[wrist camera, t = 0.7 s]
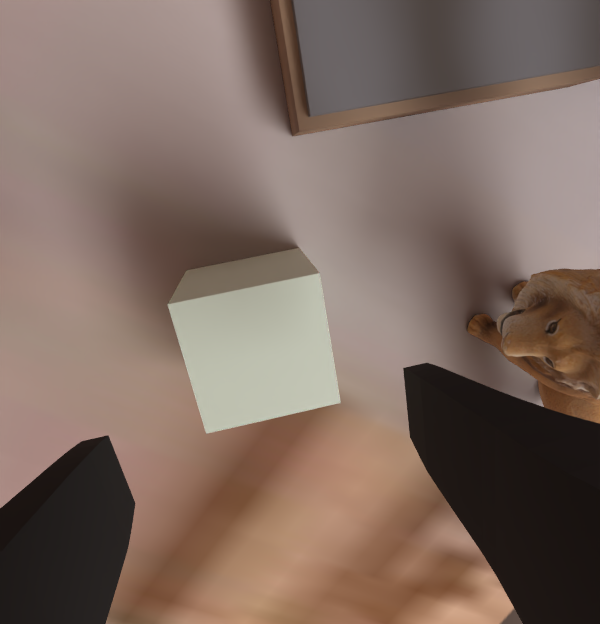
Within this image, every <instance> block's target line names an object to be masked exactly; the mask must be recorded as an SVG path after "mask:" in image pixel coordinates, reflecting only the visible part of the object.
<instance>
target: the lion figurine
mask: <svg viewBox="0 0 600 624" xmlns="http://www.w3.org/2000/svg"><path fill="white" fill-rule="evenodd" d="M512 296H513V300H514V302H515V305H514V308H513V310H512V312H509V313H504V314H502V315H501V316H499V318H498V320H497V322H494V321H493V320H492V319H491V318H490V317H489V316H488V315H486V314H479V315H475V316H474V317H473V318H472V319H471V321H470V322H469V326H468V328H467V331H468V333H470V334H472V335H473V336H476V337H478V338H479V339H481V340H483V341H484V342H486V343H489V344H491V345H493V346H495V347H496V348H497V349H498V350H500V352H501V353H502V354H503V355H504V356H505V357H506V358H507V359H508V360H509V361H511V362H512V363H514V364H515V365H517V366H518V367H520V368H521V369H523V370H524V371H526V372H528V373H529V374H530V375H532V376H533V377H534V378H536V379H537V380H538V386H539V392H540V396H541V399H542V402H543V405H544V407H545V408H548V409H551V410H554V411H557V412H560V413H563V414H567V415H570V416H574V417H577V418H581V419H585V420H588V421H592V422H596V423H599V424H600V269H597V270H594V269H587V270H572V269H558V270H548V271H544V272H540V273H537V274H533V275H531V279H530V280H529V281H528V282H520V283H519V284H518V285H516V286H515V287H514V288H513V290H512Z"/></svg>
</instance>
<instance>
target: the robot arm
mask: <svg viewBox="0 0 600 624" xmlns="http://www.w3.org/2000/svg"><path fill="white" fill-rule="evenodd" d="M403 369H404V379H405V390H406V400H407V410H408V420H409V431H410V438H411V440H412V442H413V444H414V446H415V448H416V450H417V452H418V454H419V456H420V458H421V460H422V462H423V464H424V466H425V468H426V470H427V472H428V473H429V475H430V476H431V478H432V479H433V481H434V482H435V484H436V485H437V487H438V488H439V490H440V491H441V493H442V494H443V496H444V497H445V499H446V500H447V502H448V503H449V505H450V506H451V508H452V509H453V511H454V512H455V514H456V515H457V517H458V518H459V519H460V521H461V522H462V524H463V525H464V527H465V528H466V530H467V531H468V533H469V534H470V536H471V537H472V539H473V540H474V542H475V543H476V545H477V546H478V547H479V549H480V550H481V552H482V553H483V555H484V556H485V558H486V560H487V561H488V563H489V564H490V566H491V568H492V569H493V571H494V572H495V574H496V576H497V577H498V579H499V581H500V583H501V585H502V586H503V588H504V590H505V592H506V594H507V596H508V597H509V599H510V601H511V603H512V605H513V606H514V608H515V610H516V612H517V614H518V615H519V617H520V619H521V621H522V623H523V624H600V424H599V423H596V422H592V421H588V420H585V419H581V418H577V417H574V416H570V415H567V414H563V413H560V412H557V411H554V410H551V409H548V408H545V407H542V406H539V405H536V404H533V403H530V402H527V401H524V400H521V399H519V398H516V397H513V396H510V395H508V394H505V393H503V392H500V391H497V390H495V389H492V388H490V387H487V386H485V385H482V384H480V383H477V382H475V381H473V380H470V379H468V378H465V377H463V376H460V375H458V374H456V373H453V372H451V371H448V370H446V369H443V368H441V367H438V366H435V365H433V364H429V363H424V364H419V365H415V366H411V367H406V368H403ZM134 508H135V501H134V499H133V496H132V494H131V491H130V489H129V486H128V484H127V481H126V479H125V476H124V474H123V471H122V469H121V466H120V464H119V461H118V459H117V456H116V454H115V451H114V449H113V446H112V444H111V441H110V439H109V436H103V437H99V438H95V439H90V440H86V441H82V442H80V443H79V444H77V445H76V446H75V447H73V448H72V449H71V450H69V451H68V452H67V453H65V454H64V455H63V456H62V457H60V458H59V459H58V460H57V461H56V462H54V463H53V464H52V465H51V466H50V467H49V468H47V469H46V470H45V471H44V472H43V473H41V474H40V475H39V476H38V477H37V478H36V479H34V480H33V481H32V482H31V483H30V484H29V485H27V486H26V487H25V488H24V489H23V490H22V491H20V492H19V493H18V494H17V495H16V496H15V497H13V498H12V499H11V500H10V501H9V502H7V503H6V504H5V505H4V506H3V507H2V508H0V624H105V623H106V620H107V617H108V613H109V610H110V607H111V603H112V600H113V597H114V594H115V590H116V587H117V584H118V580H119V577H120V574H121V570H122V567H123V563H124V560H125V556H126V553H127V549H128V545H129V540H130V534H131V528H132V522H133V515H134Z"/></svg>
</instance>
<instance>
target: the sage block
mask: <svg viewBox="0 0 600 624" xmlns="http://www.w3.org/2000/svg"><path fill="white" fill-rule="evenodd" d="M167 305H168V308H169V311H170V315H171V318H172V321H173V325H174V328H175V331H176V334H177V338H178V341H179V344H180V348H181V351H182V354H183V358H184V361H185V364H186V368H187V371H188V374H189V378H190V381H191V384H192V388H193V391H194V394H195V398H196V401H197V404H198V408H199V411H200V414H201V418H202V421H203V424H204V428H205V431H206V434H207V433H211V432H216V431H220V430H224V429H229V428H233V427H237V426H242V425H246V424H251V423H255V422H259V421H264V420H268V419H272V418H277V417H281V416H285V415H290V414H294V413H298V412H303V411H307V410H311V409H316V408H320V407H324V406H329V405H333V404H337V403H341V402H340V396H339V390H338V384H337V377H336V371H335V365H334V359H333V353H332V346H331V340H330V334H329V328H328V322H327V315H326V309H325V303H324V297H323V291H322V284H321V278H320V273H319V272H318V270H317V269H316V268H315V267H314V265H313V264H312V263H311V262H310V260H309V259H308V258H307V257H306V256H305V254H304V253H303V252H302V251H301V249H300V248H296V249H291V250H286V251H281V252H276V253H271V254H266V255H261V256H256V257H251V258H246V259H241V260H236V261H231V262H226V263H221V264H216V265H211V266H206V267H201V268H196V269H191V270H186V272H185V274H184V275H183V277H182V279H181V281H180V283H179V285H178V286H177V288H176V290H175V292H174V294H173V295H172V297H171V299H170V301H169V303H168V304H167Z"/></svg>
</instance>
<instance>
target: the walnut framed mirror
mask: <svg viewBox="0 0 600 624" xmlns="http://www.w3.org/2000/svg"><path fill="white" fill-rule="evenodd" d="M270 4H271V10H272V16H273V22H274V28H275V34H276V40H277V46H278V52H279V58H280V64H281V70H282V76H283V82H284V88H285V95H286V101H287V107H288V113H289V119H290V125H291V131H292V136H298V135H303V134H309V133H315V132H320V131H326V130H331V129H337V128H342V127H348V126H354V125H359V124H365V123H370V122H376V121H381V120H387V119H393V118H398V117H404V116H409V115H415V114H420V113H426V112H432V111H437V110H443V109H448V108H454V107H460V106H465V105H471V104H476V103H482V102H487V101H493V100H499V99H504V98H510V97H515V96H521V95H526V94H532V93H538V92H543V91H549V90H554V89H560V88H565V87H570V86H574V85H578V84H581V83H585V82H589V81H593V80H597V79H600V0H270Z"/></svg>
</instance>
